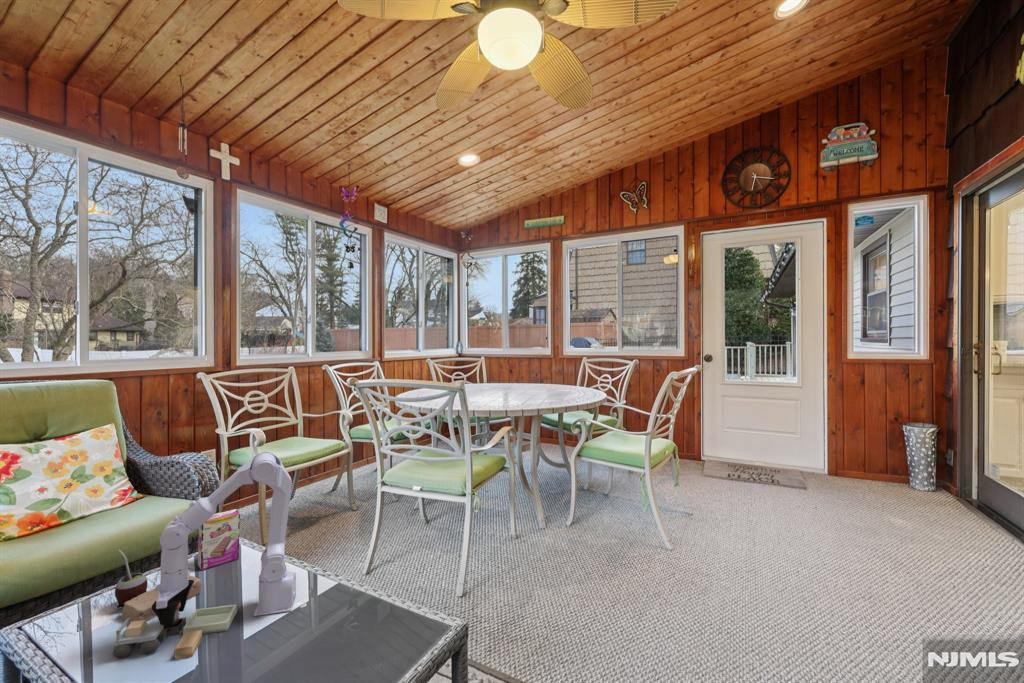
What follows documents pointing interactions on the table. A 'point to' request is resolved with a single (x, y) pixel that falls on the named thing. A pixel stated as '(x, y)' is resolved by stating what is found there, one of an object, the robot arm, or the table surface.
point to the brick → (151, 603)
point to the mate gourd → (129, 585)
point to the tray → (211, 619)
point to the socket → (177, 629)
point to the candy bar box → (219, 539)
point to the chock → (188, 644)
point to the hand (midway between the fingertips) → (173, 619)
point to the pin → (177, 616)
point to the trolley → (138, 637)
